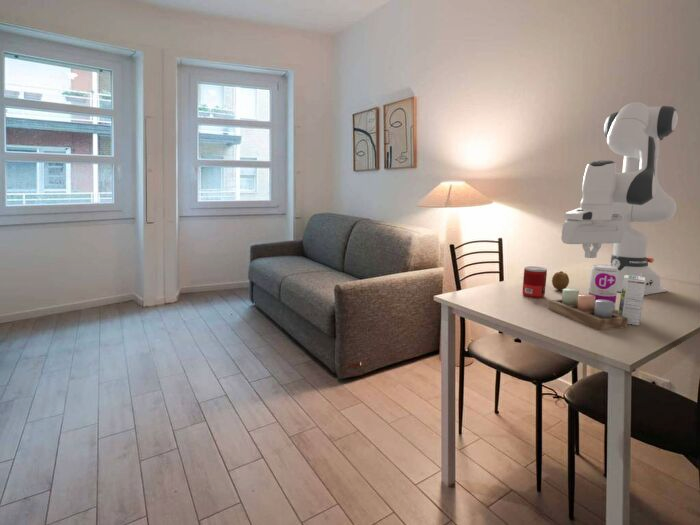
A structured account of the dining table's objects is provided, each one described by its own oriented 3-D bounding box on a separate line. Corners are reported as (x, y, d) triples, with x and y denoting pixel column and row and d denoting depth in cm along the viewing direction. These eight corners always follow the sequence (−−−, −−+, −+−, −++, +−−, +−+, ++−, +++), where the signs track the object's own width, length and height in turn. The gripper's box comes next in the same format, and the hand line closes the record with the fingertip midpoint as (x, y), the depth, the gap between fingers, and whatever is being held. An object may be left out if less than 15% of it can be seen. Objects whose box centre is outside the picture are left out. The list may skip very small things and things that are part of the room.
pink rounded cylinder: (585, 307, 135) (587, 293, 134) (597, 312, 130) (599, 297, 129) (573, 308, 134) (574, 294, 133) (584, 313, 129) (586, 298, 128)
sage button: (570, 302, 141) (571, 288, 140) (580, 305, 137) (582, 291, 136) (558, 302, 140) (559, 288, 139) (568, 306, 136) (569, 292, 135)
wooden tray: (572, 306, 144) (573, 298, 143) (626, 327, 123) (627, 317, 122) (548, 308, 142) (548, 300, 141) (598, 329, 121) (599, 320, 120)
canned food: (546, 298, 154) (549, 270, 152) (524, 297, 155) (526, 269, 153) (541, 293, 161) (544, 266, 159) (520, 292, 163) (522, 265, 161)
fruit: (559, 287, 170) (561, 269, 169) (571, 291, 165) (573, 272, 163) (547, 289, 168) (549, 270, 167) (559, 292, 163) (561, 273, 161)
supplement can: (614, 313, 136) (620, 269, 133) (586, 309, 140) (591, 267, 138) (614, 307, 143) (619, 265, 140) (587, 303, 147) (591, 263, 144)
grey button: (602, 314, 128) (604, 298, 127) (615, 319, 123) (617, 303, 122) (590, 315, 127) (591, 299, 126) (602, 320, 122) (604, 304, 121)
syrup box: (617, 317, 132) (623, 274, 129) (639, 321, 128) (646, 276, 126) (617, 322, 127) (622, 277, 124) (640, 326, 124) (646, 280, 121)
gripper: (614, 213, 131) (609, 255, 134) (560, 213, 127) (556, 256, 129) (631, 214, 125) (626, 258, 128) (575, 214, 121) (570, 260, 123)
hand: (590, 257), depth 129 cm, fingers closed
